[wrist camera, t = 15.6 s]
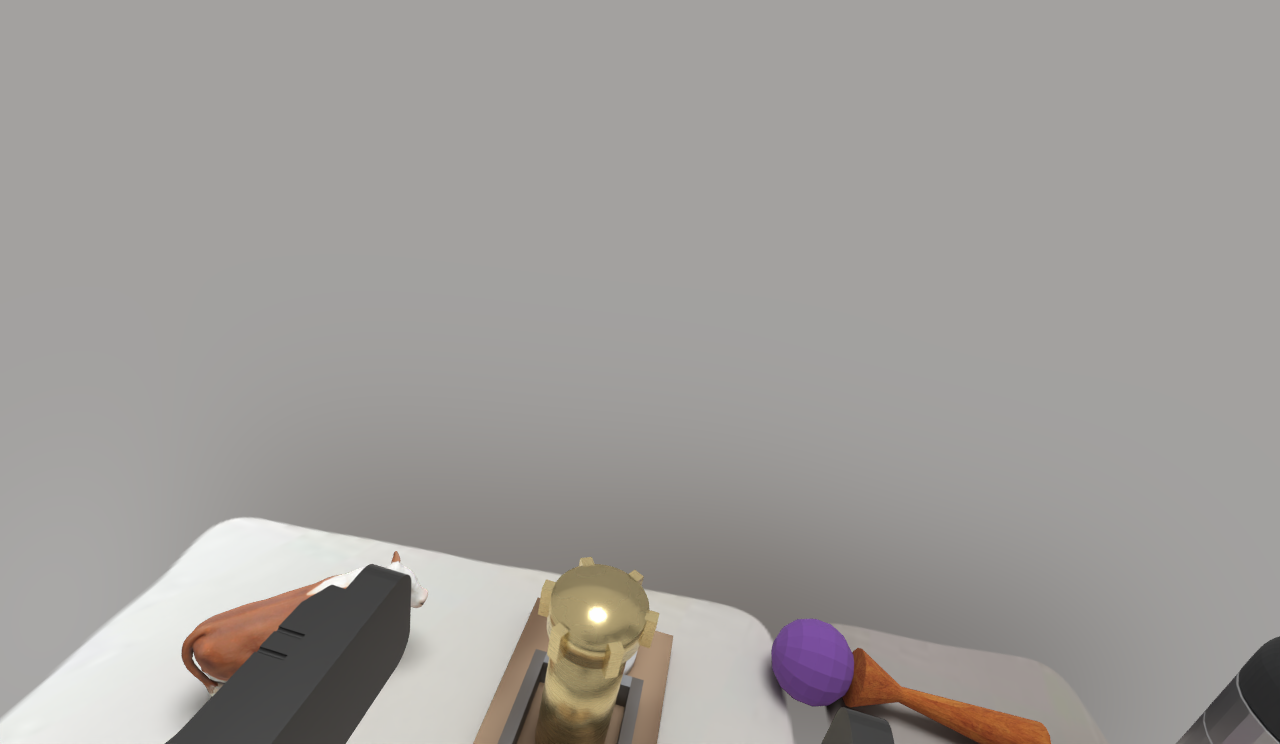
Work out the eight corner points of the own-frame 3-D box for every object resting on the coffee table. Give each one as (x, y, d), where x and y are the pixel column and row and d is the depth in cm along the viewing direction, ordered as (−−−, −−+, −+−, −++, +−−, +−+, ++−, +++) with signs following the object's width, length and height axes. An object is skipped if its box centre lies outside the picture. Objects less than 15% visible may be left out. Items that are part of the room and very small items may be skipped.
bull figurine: (428, 665, 43) (434, 578, 39) (192, 741, 36) (174, 644, 32) (414, 618, 46) (418, 534, 43) (194, 680, 39) (178, 585, 35)
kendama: (1074, 773, 41) (785, 663, 42) (1022, 805, 44) (757, 702, 46) (1049, 687, 45) (790, 592, 47) (1003, 723, 49) (764, 632, 50)
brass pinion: (629, 709, 41) (666, 578, 36) (608, 802, 35) (648, 664, 30) (537, 680, 41) (560, 547, 36) (503, 767, 36) (524, 626, 31)
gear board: (669, 649, 48) (679, 615, 46) (617, 978, 30) (631, 940, 28) (535, 611, 49) (541, 576, 47) (406, 908, 31) (408, 868, 29)
